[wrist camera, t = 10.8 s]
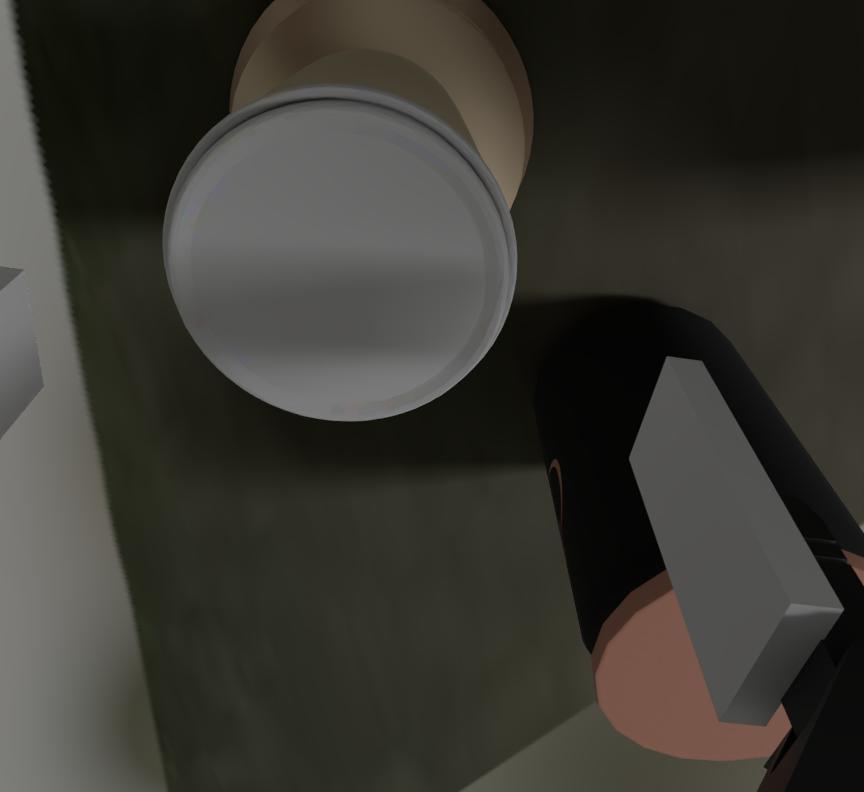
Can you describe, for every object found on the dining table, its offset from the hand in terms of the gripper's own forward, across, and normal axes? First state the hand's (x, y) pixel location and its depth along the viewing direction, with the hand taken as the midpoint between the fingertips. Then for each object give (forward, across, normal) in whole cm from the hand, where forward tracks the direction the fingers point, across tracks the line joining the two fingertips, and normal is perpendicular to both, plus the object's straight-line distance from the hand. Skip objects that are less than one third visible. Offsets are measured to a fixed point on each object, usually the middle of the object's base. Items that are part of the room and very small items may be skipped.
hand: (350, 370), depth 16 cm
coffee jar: (+21, +14, -11) cm, 27 cm away
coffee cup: (+16, -1, 0) cm, 16 cm away
